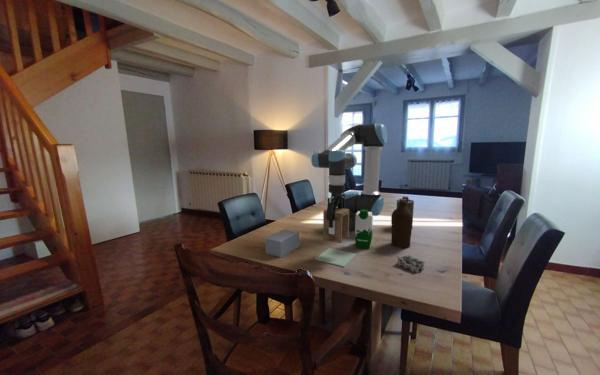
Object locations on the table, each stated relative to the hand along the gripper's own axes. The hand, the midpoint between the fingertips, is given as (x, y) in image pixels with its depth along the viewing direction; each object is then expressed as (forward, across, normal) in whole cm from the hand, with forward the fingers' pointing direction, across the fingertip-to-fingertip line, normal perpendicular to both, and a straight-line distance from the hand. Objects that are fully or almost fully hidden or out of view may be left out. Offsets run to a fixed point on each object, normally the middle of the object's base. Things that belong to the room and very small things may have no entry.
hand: (336, 230), depth 127 cm
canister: (+13, -63, +18) cm, 67 cm away
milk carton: (+14, -21, +6) cm, 26 cm away
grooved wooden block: (+3, 0, -6) cm, 6 cm away
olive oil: (+14, -32, +23) cm, 42 cm away
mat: (+13, 0, 0) cm, 13 cm away
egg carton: (+14, -9, +32) cm, 36 cm away
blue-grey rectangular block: (+13, +6, -28) cm, 31 cm away
